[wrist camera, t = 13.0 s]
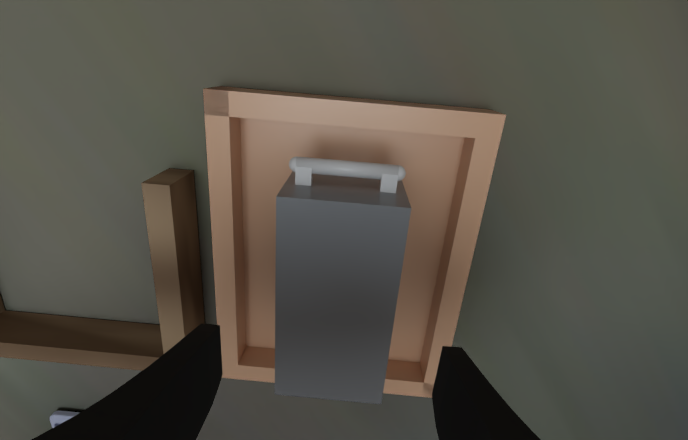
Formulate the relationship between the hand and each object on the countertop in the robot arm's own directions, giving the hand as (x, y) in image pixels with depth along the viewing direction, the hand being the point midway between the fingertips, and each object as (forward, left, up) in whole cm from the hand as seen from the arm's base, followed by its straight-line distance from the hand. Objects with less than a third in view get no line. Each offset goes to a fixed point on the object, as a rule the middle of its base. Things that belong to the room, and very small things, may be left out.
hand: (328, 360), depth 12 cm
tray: (0, 0, -8) cm, 8 cm away
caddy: (0, 0, -8) cm, 8 cm away
